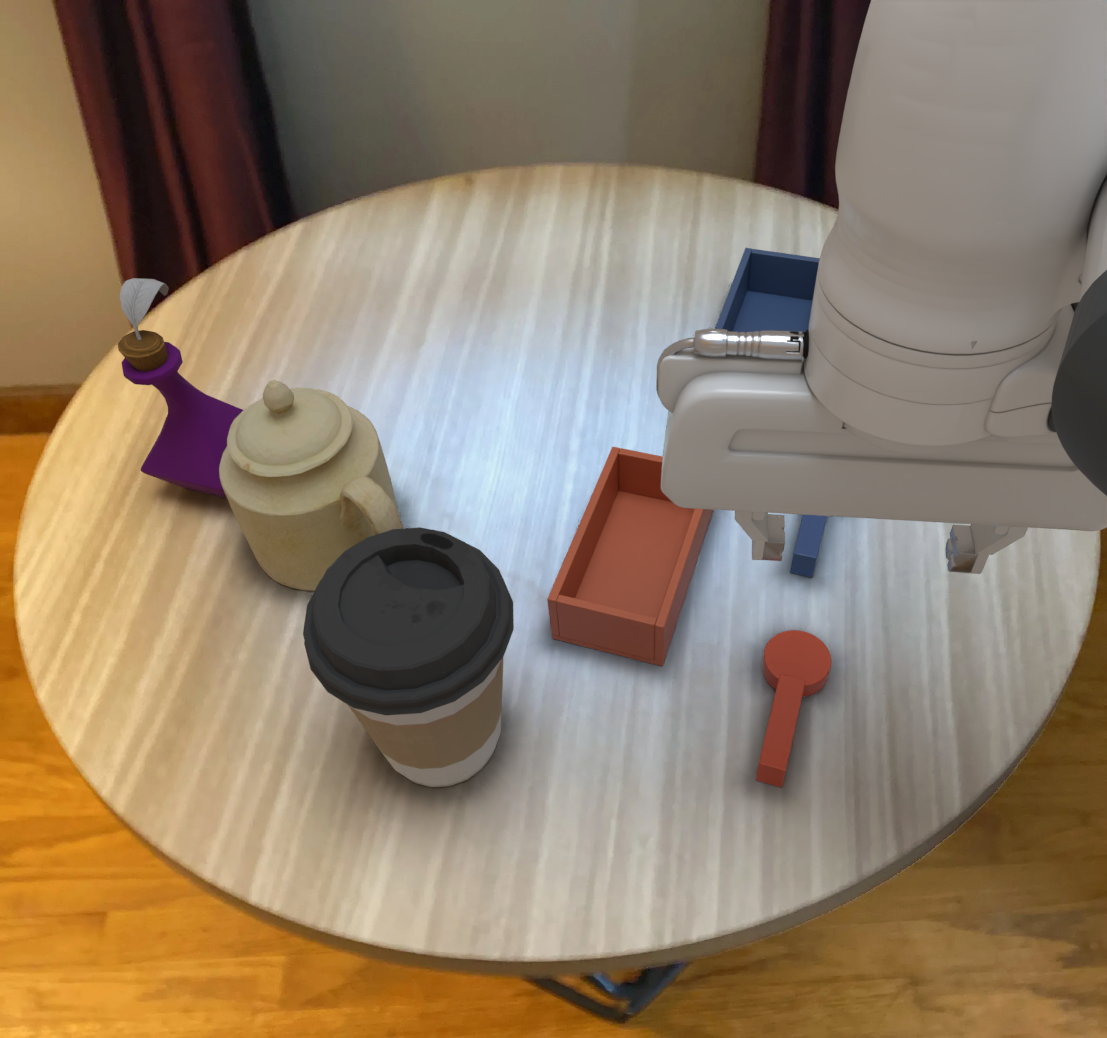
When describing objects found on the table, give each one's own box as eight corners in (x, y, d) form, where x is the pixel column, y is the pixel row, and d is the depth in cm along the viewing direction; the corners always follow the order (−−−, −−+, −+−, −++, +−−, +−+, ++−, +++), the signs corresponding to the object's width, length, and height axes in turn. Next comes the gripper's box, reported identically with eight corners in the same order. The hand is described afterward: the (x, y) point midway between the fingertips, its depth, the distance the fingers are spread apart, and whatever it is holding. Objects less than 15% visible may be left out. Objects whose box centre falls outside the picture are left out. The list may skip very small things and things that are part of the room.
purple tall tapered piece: (238, 519, 78) (152, 332, 64) (154, 499, 80) (54, 314, 66) (285, 451, 83) (214, 262, 69) (205, 433, 85) (121, 247, 71)
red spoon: (804, 794, 61) (808, 777, 59) (733, 774, 62) (736, 757, 60) (833, 650, 67) (838, 631, 65) (769, 635, 68) (772, 616, 67)
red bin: (714, 509, 76) (717, 466, 72) (662, 667, 67) (664, 627, 64) (613, 488, 78) (612, 445, 74) (551, 638, 69) (546, 598, 66)
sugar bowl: (471, 504, 78) (442, 349, 66) (413, 620, 71) (369, 471, 60) (296, 467, 81) (240, 314, 70) (225, 574, 75) (150, 425, 63)
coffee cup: (562, 693, 66) (546, 546, 55) (481, 850, 60) (443, 720, 49) (410, 637, 70) (365, 488, 59) (317, 779, 63) (247, 643, 52)
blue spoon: (831, 582, 71) (836, 562, 69) (770, 568, 72) (773, 549, 70) (855, 474, 77) (860, 454, 75) (798, 463, 78) (802, 443, 76)
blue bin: (828, 303, 90) (836, 260, 87) (798, 411, 82) (805, 368, 78) (741, 290, 92) (745, 247, 89) (703, 394, 84) (705, 351, 80)
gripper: (652, 381, 40) (648, 593, 50) (1218, 405, 37) (1090, 623, 48) (662, 282, 44) (656, 497, 55) (1173, 297, 41) (1064, 520, 52)
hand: (862, 556), depth 51 cm, fingers open, 8 cm apart
